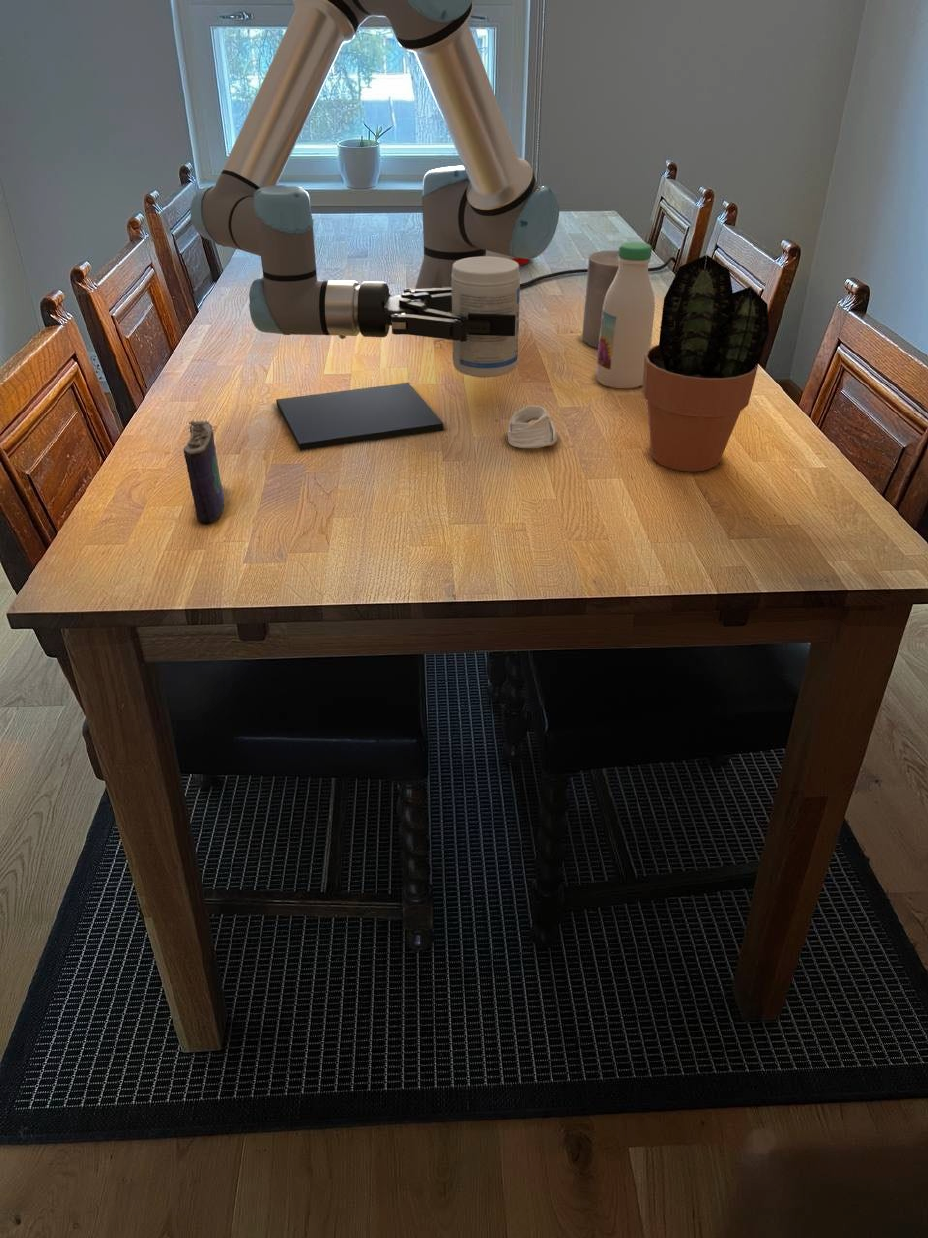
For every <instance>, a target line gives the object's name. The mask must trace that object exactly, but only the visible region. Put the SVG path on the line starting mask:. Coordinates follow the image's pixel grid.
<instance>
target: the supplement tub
mask: <svg viewBox="0 0 928 1238" xmlns="http://www.w3.org/2000/svg"><path fill="white" fill-rule="evenodd" d="M520 284H521V274H520V266H519V264H518V263H517V262H515V261H514V260H511V259H507V258H502V257H492V256H481V257H470V258H464V259H461V260H458V261H456V262H455V263H454V264H453V268H452V312H451V313H452V314H457V315H462V316H466V317H467V320H468V313H471V314H503V315H516V320H515V336H490V335H468V333H467V341H465V342H460V340H458V341H456V340H452V364H453V367H454V369H455V370H456V371H457V372H459V373H461V374H463V375H466V376H470V377H473V378H480V379H481V378H483V379H484V378H497V377H502V376H506V375H508V374H510V373H512V372H513V371H515V369H516V368H517V366H518V360H519V333H520V332H519V331H520V329H519V328H520V300H521V299H520V297H521V295H520V294H521V293H520V292H521V290H520V289H521V288H520Z"/></svg>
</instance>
